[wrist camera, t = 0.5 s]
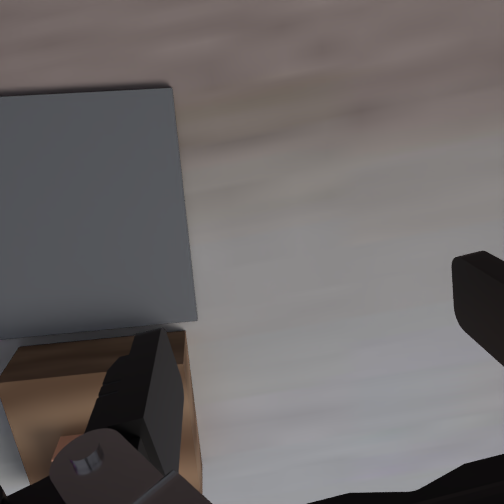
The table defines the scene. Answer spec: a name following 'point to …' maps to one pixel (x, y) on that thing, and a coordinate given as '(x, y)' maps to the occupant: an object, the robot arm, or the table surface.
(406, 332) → the table surface
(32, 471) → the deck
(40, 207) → the mat
